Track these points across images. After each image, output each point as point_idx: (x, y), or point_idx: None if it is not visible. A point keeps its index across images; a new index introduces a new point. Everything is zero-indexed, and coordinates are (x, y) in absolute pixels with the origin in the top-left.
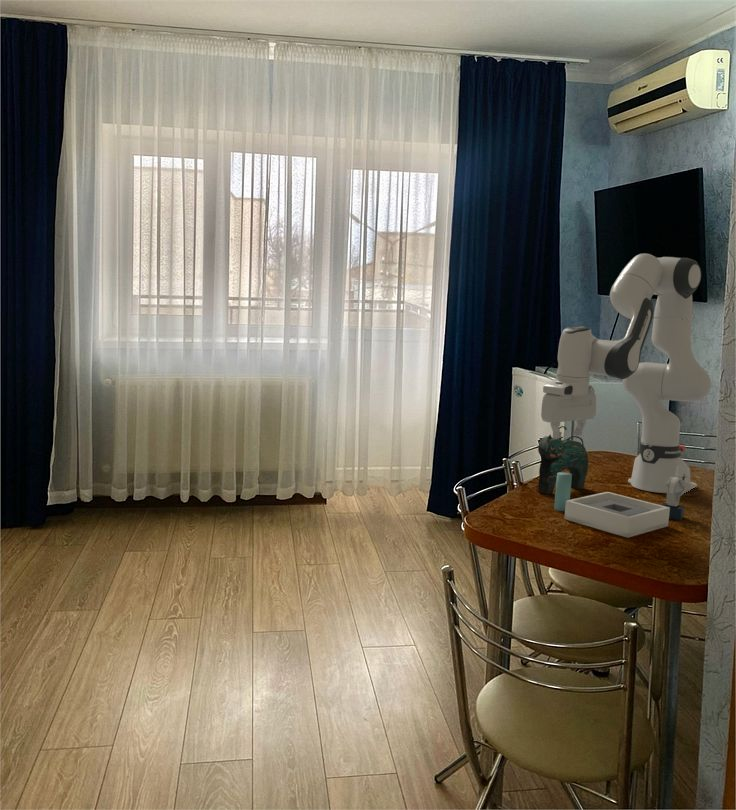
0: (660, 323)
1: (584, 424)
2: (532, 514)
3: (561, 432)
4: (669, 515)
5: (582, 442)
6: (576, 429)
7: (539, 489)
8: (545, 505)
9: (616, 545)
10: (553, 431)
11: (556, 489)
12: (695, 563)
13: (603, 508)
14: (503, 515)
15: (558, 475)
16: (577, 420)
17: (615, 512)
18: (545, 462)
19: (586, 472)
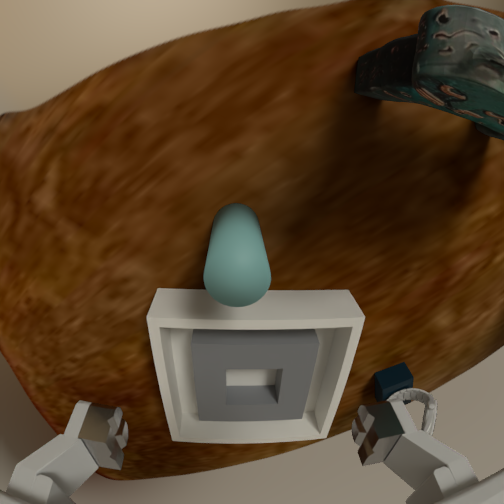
0: None
1: (419, 485)
2: (112, 213)
3: (119, 466)
4: (376, 389)
5: None
6: (372, 449)
7: (360, 61)
8: (231, 167)
9: (124, 414)
10: (65, 436)
11: (212, 237)
12: (170, 472)
13: (214, 377)
14: (41, 181)
15: (205, 267)
16: (434, 487)
17: (210, 402)
18: (412, 60)
19: None
